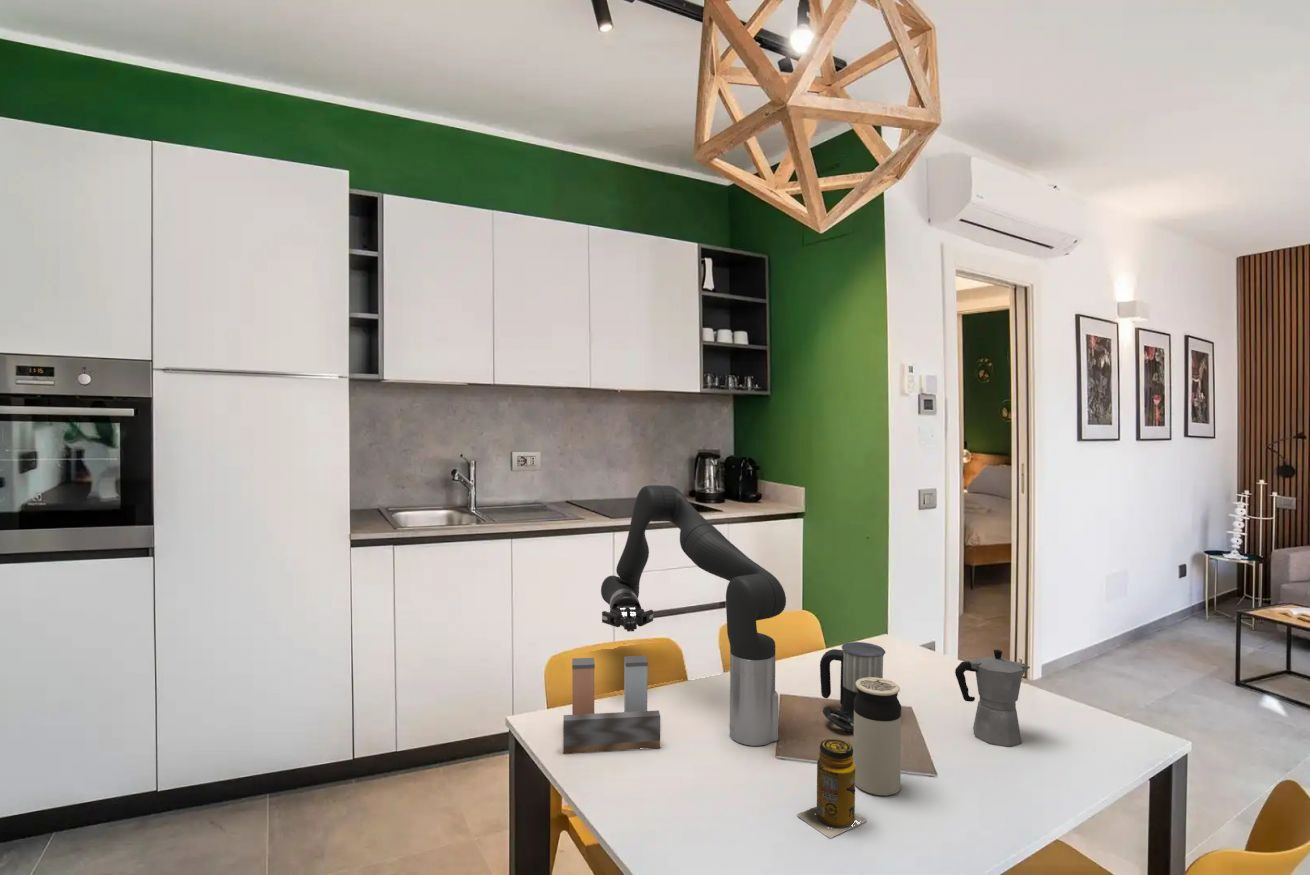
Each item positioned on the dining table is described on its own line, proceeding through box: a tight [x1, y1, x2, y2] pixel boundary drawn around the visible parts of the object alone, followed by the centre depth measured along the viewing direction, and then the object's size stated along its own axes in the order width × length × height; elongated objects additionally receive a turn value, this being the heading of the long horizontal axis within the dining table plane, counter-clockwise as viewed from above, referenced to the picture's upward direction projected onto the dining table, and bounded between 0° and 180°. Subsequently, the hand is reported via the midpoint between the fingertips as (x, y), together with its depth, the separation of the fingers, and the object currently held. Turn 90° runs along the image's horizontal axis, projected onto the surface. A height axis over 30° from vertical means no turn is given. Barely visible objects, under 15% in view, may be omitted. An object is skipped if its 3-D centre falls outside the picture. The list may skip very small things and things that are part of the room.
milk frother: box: [819, 641, 886, 733], centre depth 147 cm, size 14×16×15 cm
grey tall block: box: [623, 655, 649, 712], centre depth 143 cm, size 5×4×13 cm
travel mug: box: [853, 677, 902, 796], centre depth 120 cm, size 8×8×18 cm
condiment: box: [796, 738, 867, 839], centre depth 110 cm, size 7×8×12 cm
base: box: [562, 710, 661, 755], centre depth 140 cm, size 19×14×6 cm
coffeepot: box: [954, 649, 1031, 748], centre depth 139 cm, size 15×9×18 cm, turn 92°
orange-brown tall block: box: [571, 657, 596, 715], centre depth 141 cm, size 5×4×13 cm
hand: (630, 627), depth 154 cm, fingers closed
